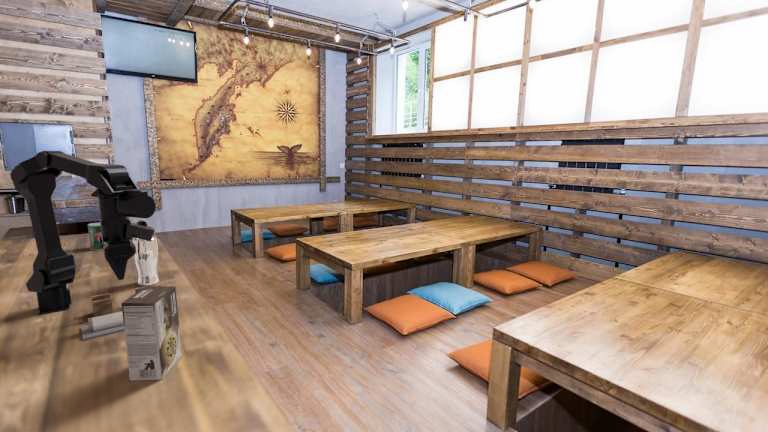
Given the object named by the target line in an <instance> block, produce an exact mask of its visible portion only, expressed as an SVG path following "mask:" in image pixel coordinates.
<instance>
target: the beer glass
mask: <svg viewBox="0 0 768 432" xmlns="http://www.w3.org/2000/svg"><path fill="white" fill-rule="evenodd" d="M157 241H158V240H157V237H156V236H153V237H152V240H151V241H146V240H144V239H139V238H132V242H133V243H134V245H135V246H136V253H135V255H134V256H133V259H134V262H135V265H136V269H137V272H138V273H137V274H138V278H137V285H139V286H150V285H151V286H153V285H155V284H158V283H159V282H160V279H159V275H158V262H159V247H158V242H157Z"/></svg>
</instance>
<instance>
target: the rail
mask: <svg viewBox="0 0 768 432" xmlns="http://www.w3.org/2000/svg"><path fill="white" fill-rule="evenodd" d="M87 325H88V326H89V332H90V333H91V332H94V331H98V330H103V329H107V328H111V327H115V326H120V325H124V322H123V313H122V310H121V311H117V312H113V313H112V314H107V315H103V316H98V317H94V316H93V317H88V318H87Z"/></svg>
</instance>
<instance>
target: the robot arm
mask: <svg viewBox="0 0 768 432" xmlns="http://www.w3.org/2000/svg"><path fill="white" fill-rule="evenodd" d="M127 169H128V168H127V167H126V166H125V165H123V164H122V165H121V164H116V163H115V164H113V163H98V162H94V161H90V160H87V159H84V158H80V157H77V156H74V155H71V154H67V153H65V152H64V151H60V150H41V151H39V152H38V153H37V154H35V155H34V156H32V157H30V158H28V159H26V160H23V161H22V162H19V164H17V165H15V166H14V167H13V169H12V170H11V171H10V179H11V181H12V183H13V186H14V189H15V190H16V192H17V193H18V194H20V196H22V198H24V199H25V201H26V205H27V208H28V213H29V216H30V217H29V218H30V222H31V227H32V231H33V235H34V240H35V243H36V244H35V245H36V249H37V254H36V256H35V259H34V261H33V263H32V271H33V273H32V274H31V276H30V277H29V279H28V280H27V281H26V283H25V287H26V288H27V291H28V292H33V293H36V299H37V303H38V304H37V305H38V312H37V313H38V314H39V315H42V314H48V313H52V312H57V311H64V310H68V309H70V308H71V305H72V297H71V290H70V288H69V287H68V286H67V285H68V284H69V285H70V284H73V283H74V281H75V275H76V271H77V270H76V269H77V265H76V263H75V257H74V254H72V253H70V254H68V253H67V252H66V251H65V250H64V249H63V247H62V241H61V237H60V233H59V232H60V231H59V228H58V222H57V218H56V214H55V209H54V205H53V200H52V196H53V194H54V193H55V190H56V188H57V180H56V179H57V178H58V177H59V176H61V175H62V174H63V172H64V173H67V174H70V175H74V176H76V177H80V178H83V180H85V181H86V183H87V184H89V185H90V186H92V187H94V188H96V189H95V190H94V191H93V192H92V193H91V194H90V196H91V197H92V198H97V199H98V210H99V222H100V224H101V233H100V234H99V235H98V236H99V243H101V244H100V246H101V248H102V249H103V250H102V252H103V256H104V259H105V260H106V262H107V263H108V265H109V266H110V268H111V270H112V272H113V273H114V275H115V277H116V278H117V280H118V281H122V280H124V279H125V276H126V270H127V266H128V261H129V260H130V259H131V258H132V257H134V255H135V253H136V246H135V245H134V243H133V239H135V238H139V239H144V240H146V241H151V240H152V237H154V234H155V232H156V229H155V228H154V227H151V226H150V225H148V224H147V221H144V220H142V219H149V218H151V217H153V215H154V214H155V212H156V209H157V208H156V207H157V204H156V202H155V199H154V198H153V197H152V196H151V195H149V191H148V190H145V189H143V190H140V188H139V186H138V184H137V183H136V182H135V180H134V179H133V178H132V176H131V174H130V173H129V171H128V170H127ZM129 218H137V219H139V220H138V221H137V222H136V223H135V222H131V219H129ZM140 219H141V220H140ZM103 242H104V243H103Z"/></svg>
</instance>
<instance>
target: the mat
mask: <svg viewBox="0 0 768 432" xmlns="http://www.w3.org/2000/svg"><path fill="white" fill-rule="evenodd" d="M80 330H81V331H80V332H81V336H82V341H85V340H90V339H94V338H98V337H103V336H107V335H111V334H114V333H115V334H116V333H119V332H125V331H124V325H120V326H115V327H111V328H107V329H103V330H98V331H94V332H91V333H90V332H89V326H88V324H87V325H82V326H81V325H80Z"/></svg>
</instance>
